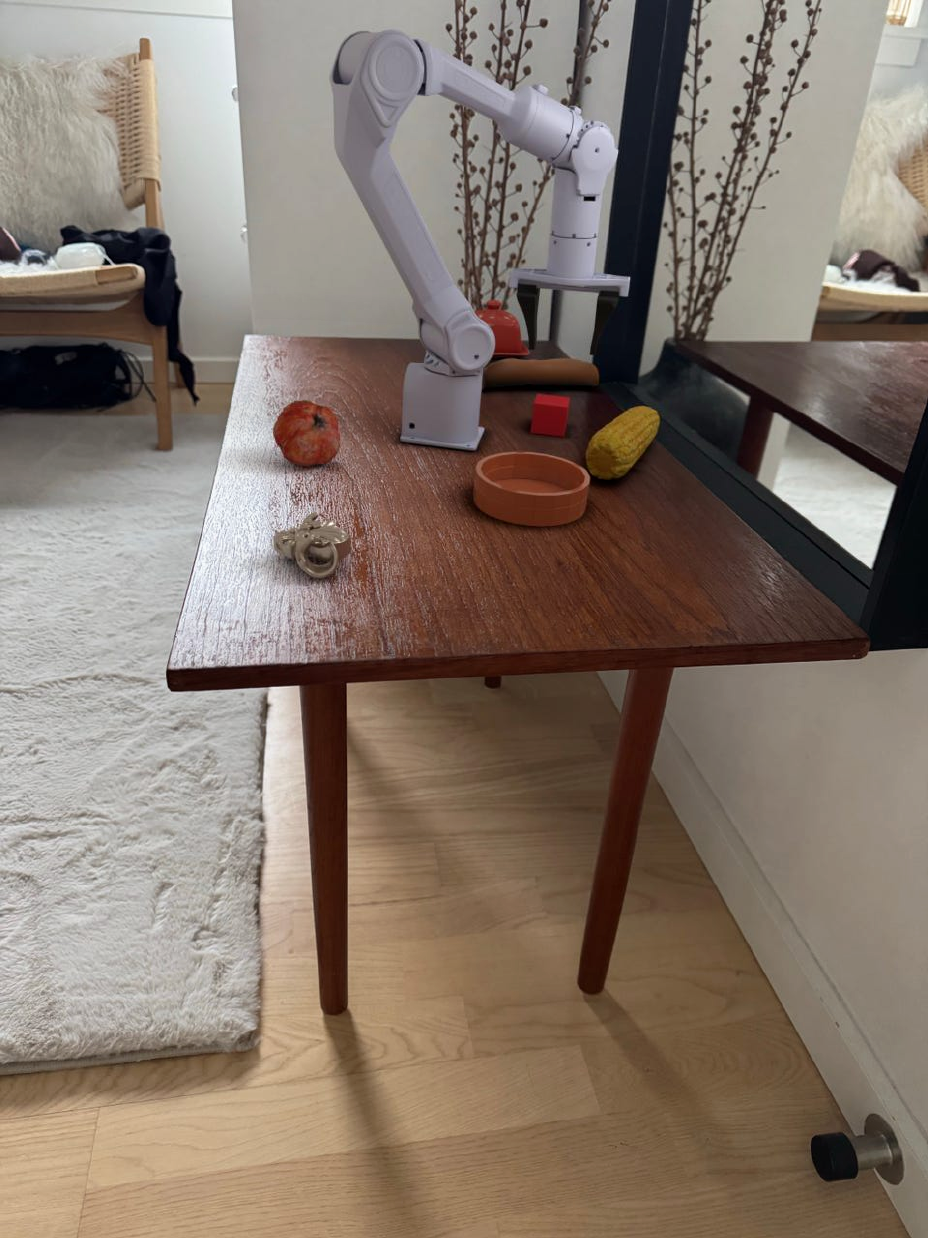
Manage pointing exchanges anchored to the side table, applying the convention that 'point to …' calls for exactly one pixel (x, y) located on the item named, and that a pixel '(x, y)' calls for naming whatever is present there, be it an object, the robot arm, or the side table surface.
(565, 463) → the pot
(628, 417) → the food
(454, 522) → the side table surface
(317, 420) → the pomegranate
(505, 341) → the butter dish
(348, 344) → the side table surface
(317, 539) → the ornament
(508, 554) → the side table surface
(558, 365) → the brown rounded bar
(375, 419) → the side table surface
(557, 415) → the red block
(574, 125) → the robot arm
